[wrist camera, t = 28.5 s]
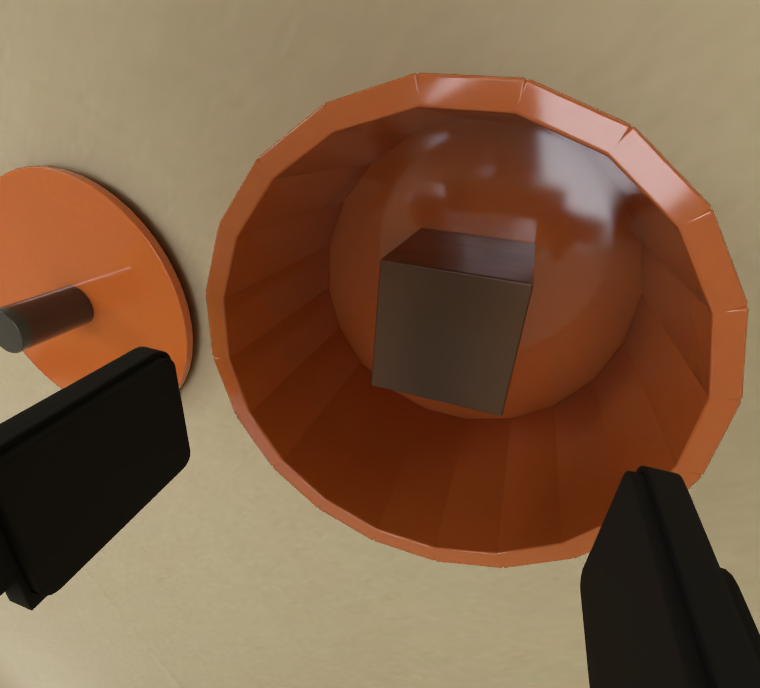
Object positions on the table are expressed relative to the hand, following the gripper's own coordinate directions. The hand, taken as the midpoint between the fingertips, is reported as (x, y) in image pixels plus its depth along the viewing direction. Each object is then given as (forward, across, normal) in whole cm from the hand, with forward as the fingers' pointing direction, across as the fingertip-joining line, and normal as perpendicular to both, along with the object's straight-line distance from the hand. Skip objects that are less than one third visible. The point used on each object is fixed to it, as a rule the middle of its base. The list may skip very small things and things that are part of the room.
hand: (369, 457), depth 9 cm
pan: (+14, 0, +1) cm, 14 cm away
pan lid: (+13, +24, +6) cm, 28 cm away
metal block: (+13, 0, +1) cm, 13 cm away
